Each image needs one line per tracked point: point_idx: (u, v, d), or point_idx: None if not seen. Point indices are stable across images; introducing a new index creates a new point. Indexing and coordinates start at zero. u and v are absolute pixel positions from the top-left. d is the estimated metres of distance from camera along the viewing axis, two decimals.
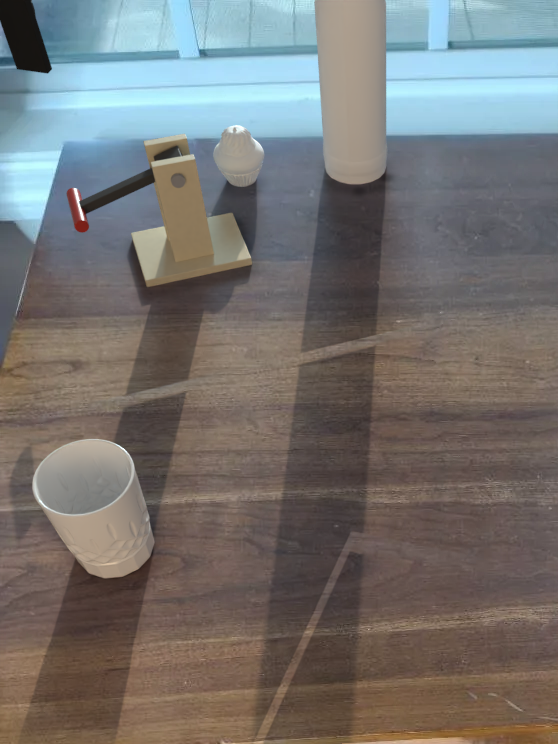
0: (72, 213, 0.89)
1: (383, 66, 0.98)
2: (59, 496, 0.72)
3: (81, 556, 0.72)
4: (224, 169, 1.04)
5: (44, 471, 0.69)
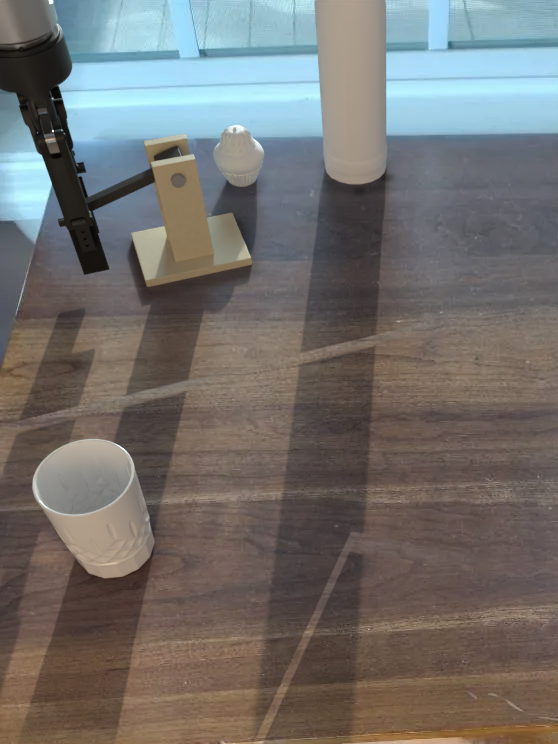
0: None
1: (383, 66, 0.98)
2: (59, 496, 0.72)
3: (81, 556, 0.72)
4: (224, 169, 1.04)
5: (44, 471, 0.69)
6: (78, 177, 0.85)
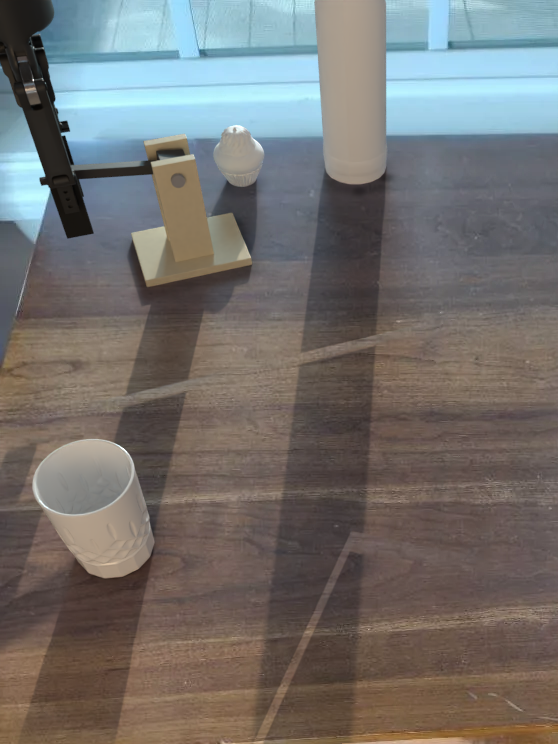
0: None
1: (383, 66, 0.98)
2: (59, 496, 0.72)
3: (81, 556, 0.72)
4: (224, 169, 1.04)
5: (44, 471, 0.69)
6: None
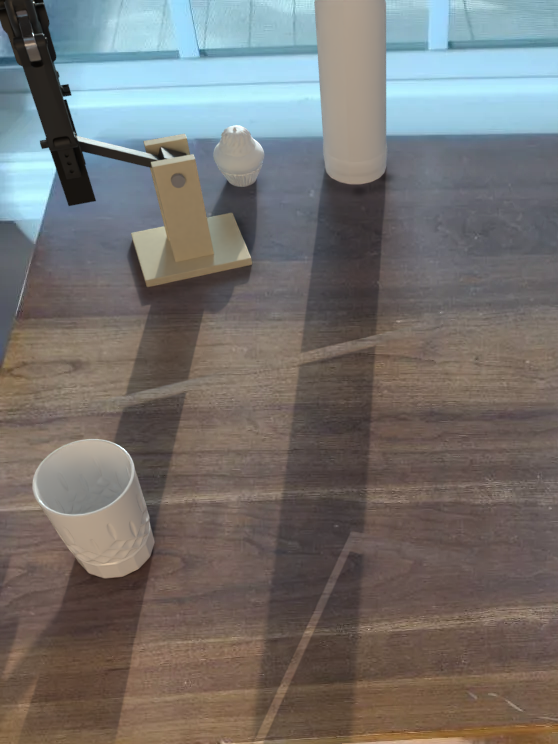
0: None
1: (383, 66, 0.98)
2: (59, 496, 0.72)
3: (81, 556, 0.72)
4: (224, 169, 1.04)
5: (44, 471, 0.69)
6: (62, 94, 0.78)
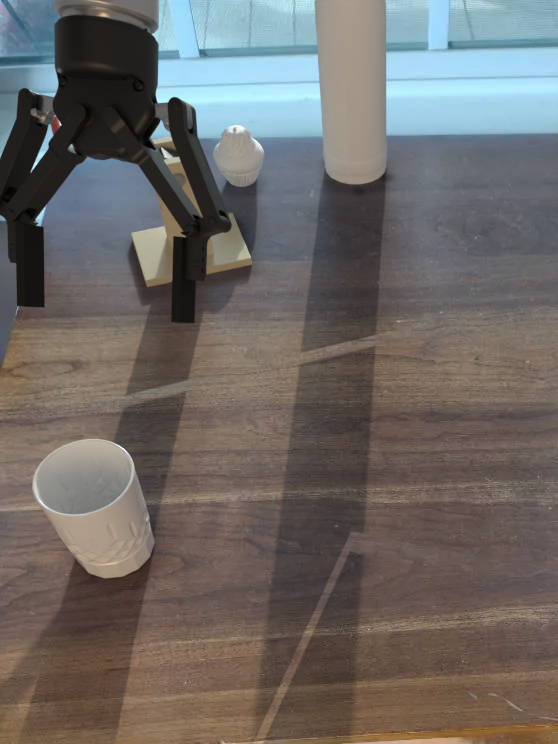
0: None
1: (383, 66, 0.98)
2: (59, 496, 0.72)
3: (81, 556, 0.72)
4: (224, 169, 1.04)
5: (44, 471, 0.69)
6: None
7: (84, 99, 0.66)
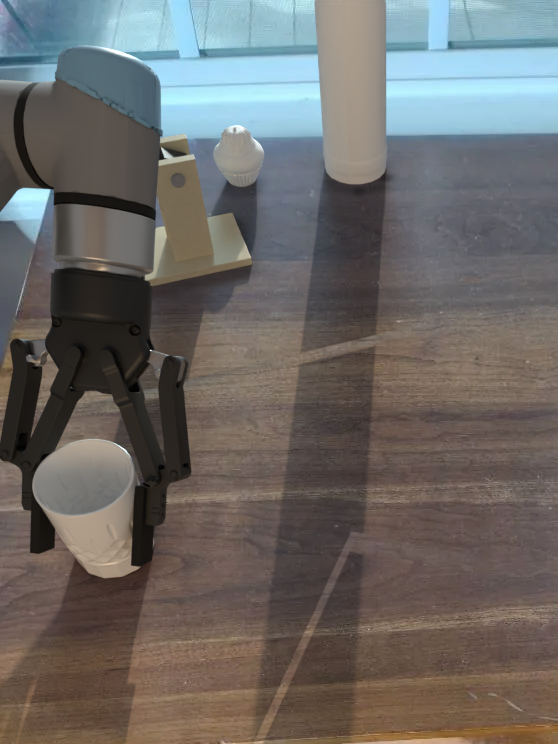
0: None
1: (383, 66, 0.98)
2: (59, 496, 0.72)
3: (81, 556, 0.72)
4: (224, 169, 1.04)
5: (44, 471, 0.69)
6: None
7: (78, 339, 0.67)
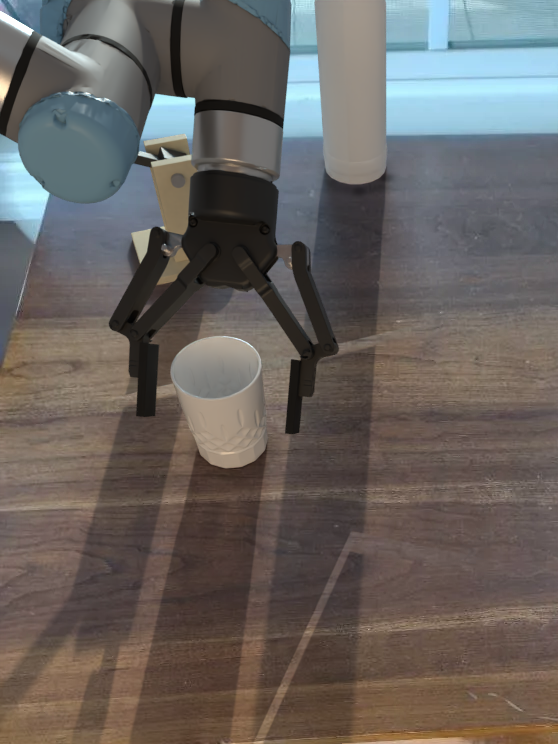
0: None
1: (383, 66, 0.98)
2: (188, 390, 0.79)
3: (208, 444, 0.79)
4: None
5: (178, 363, 0.76)
6: None
7: (213, 238, 0.74)
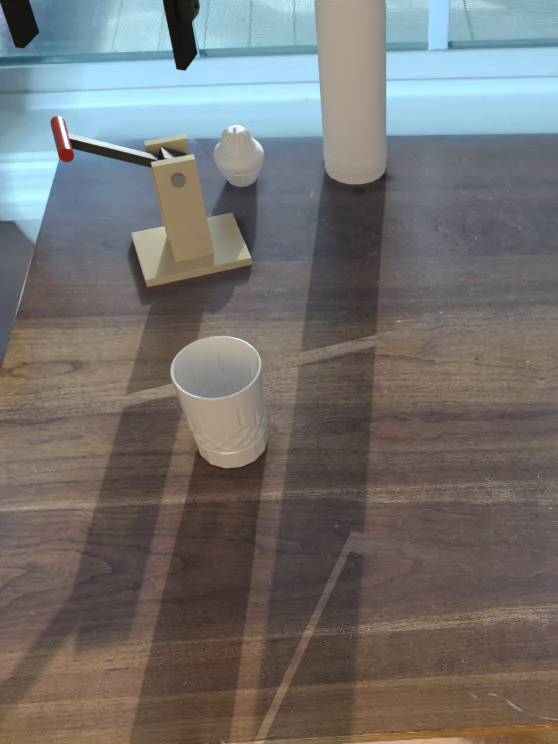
0: (60, 138, 0.83)
1: (383, 66, 0.98)
2: (188, 390, 0.79)
3: (208, 444, 0.79)
4: (224, 169, 1.04)
5: (178, 363, 0.76)
6: None
7: None
